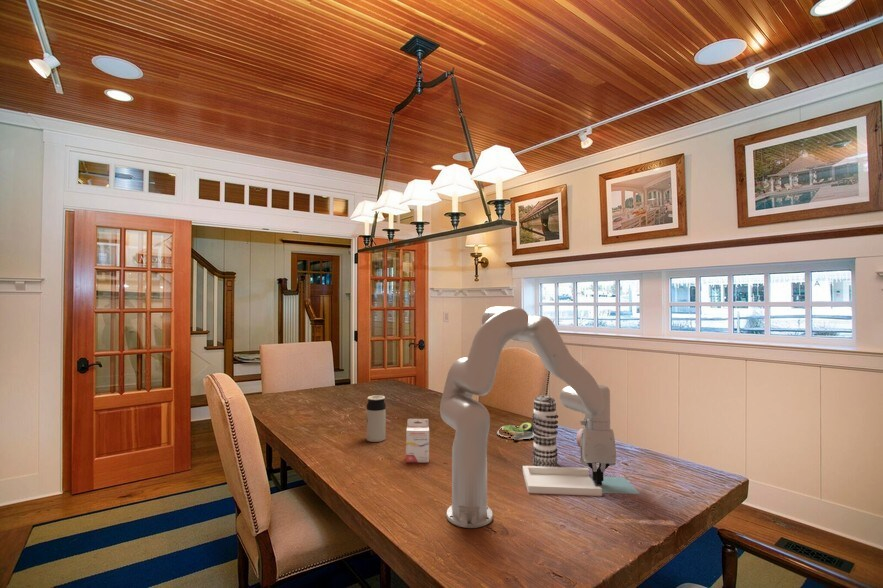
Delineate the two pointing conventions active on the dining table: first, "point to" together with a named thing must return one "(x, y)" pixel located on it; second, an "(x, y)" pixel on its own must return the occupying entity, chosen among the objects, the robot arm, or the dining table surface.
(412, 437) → the ink cartridge box
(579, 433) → the decorative fruit
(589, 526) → the dining table surface
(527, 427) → the plate of avocado toast
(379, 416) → the travel mug
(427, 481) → the dining table surface
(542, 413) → the decorative candle
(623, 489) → the cover plate
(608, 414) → the robot arm
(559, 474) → the white flat tray
